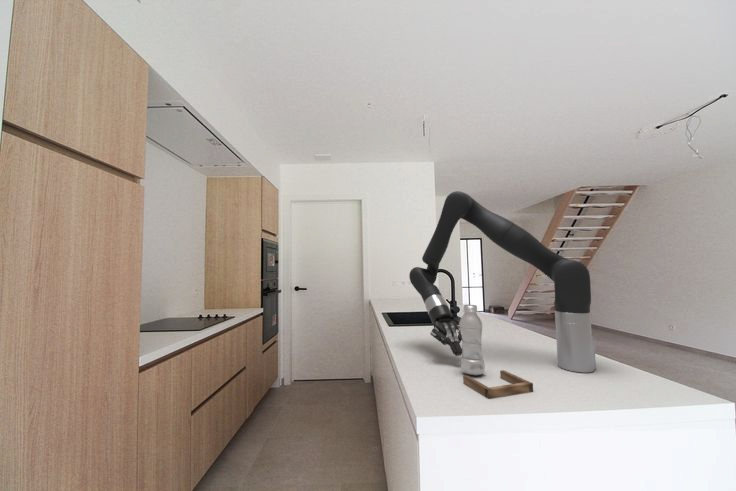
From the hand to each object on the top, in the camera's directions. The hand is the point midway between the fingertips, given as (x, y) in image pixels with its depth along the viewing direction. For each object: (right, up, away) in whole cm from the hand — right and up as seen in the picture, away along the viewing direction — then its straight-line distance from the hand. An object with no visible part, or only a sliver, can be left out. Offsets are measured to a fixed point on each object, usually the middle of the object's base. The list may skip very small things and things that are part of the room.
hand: (459, 354), depth 95 cm
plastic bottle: (+2, -4, -7) cm, 8 cm away
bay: (+5, -3, -16) cm, 17 cm away
